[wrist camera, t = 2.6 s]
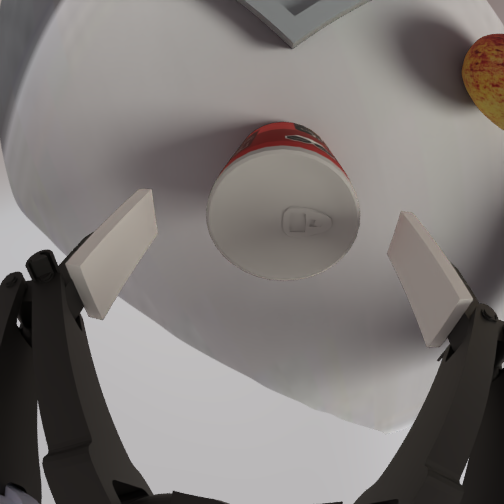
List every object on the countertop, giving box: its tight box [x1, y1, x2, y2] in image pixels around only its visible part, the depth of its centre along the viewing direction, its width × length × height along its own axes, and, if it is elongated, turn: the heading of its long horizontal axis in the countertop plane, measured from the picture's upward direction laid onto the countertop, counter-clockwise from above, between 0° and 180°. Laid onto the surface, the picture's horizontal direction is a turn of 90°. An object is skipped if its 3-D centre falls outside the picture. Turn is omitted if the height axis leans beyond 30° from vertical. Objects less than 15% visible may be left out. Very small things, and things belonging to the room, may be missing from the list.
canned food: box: [206, 122, 360, 281], centre depth 18 cm, size 8×8×11 cm
